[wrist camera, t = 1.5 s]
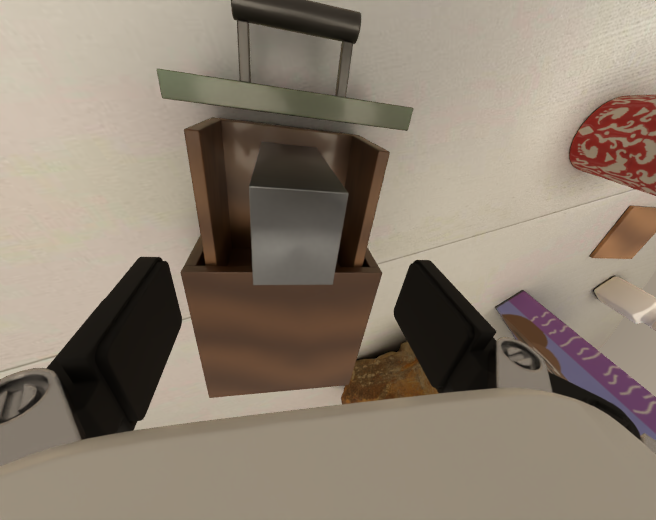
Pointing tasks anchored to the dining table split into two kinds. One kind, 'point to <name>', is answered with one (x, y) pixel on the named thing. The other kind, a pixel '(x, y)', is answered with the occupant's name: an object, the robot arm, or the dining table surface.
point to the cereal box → (577, 359)
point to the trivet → (628, 234)
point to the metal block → (295, 216)
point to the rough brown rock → (387, 378)
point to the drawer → (280, 133)
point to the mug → (620, 142)
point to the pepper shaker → (628, 301)
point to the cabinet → (276, 327)
